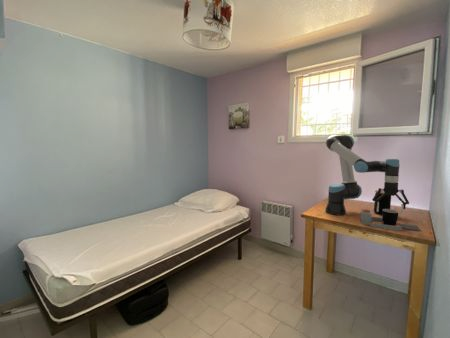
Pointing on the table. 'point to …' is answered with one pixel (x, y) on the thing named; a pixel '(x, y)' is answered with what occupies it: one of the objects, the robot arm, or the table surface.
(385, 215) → the mug
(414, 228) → the pad
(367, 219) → the housing
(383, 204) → the coffee jar
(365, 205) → the table surface
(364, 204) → the table surface
